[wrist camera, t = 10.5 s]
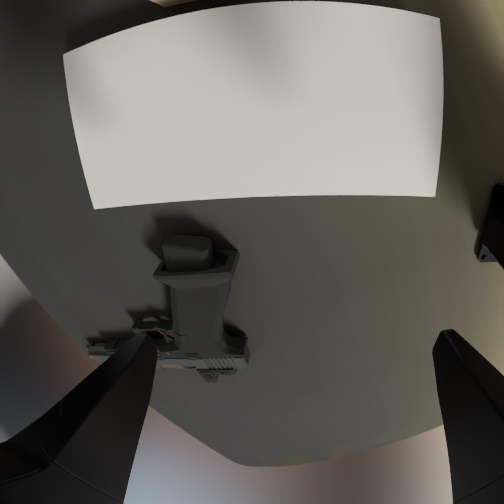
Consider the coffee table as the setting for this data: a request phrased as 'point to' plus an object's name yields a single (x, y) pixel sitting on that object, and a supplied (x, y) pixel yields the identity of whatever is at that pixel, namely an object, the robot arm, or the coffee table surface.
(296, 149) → the panel
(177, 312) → the handgun
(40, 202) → the coffee table surface
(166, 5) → the brown and pink block
